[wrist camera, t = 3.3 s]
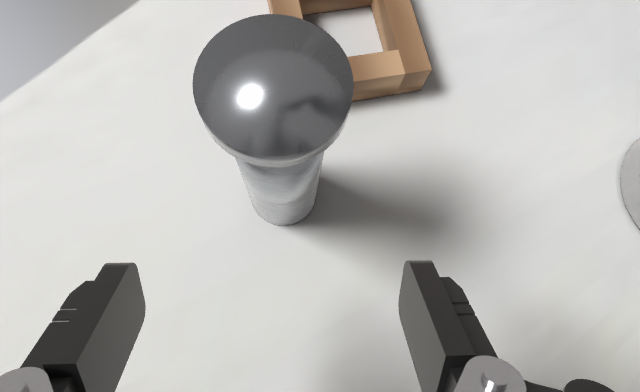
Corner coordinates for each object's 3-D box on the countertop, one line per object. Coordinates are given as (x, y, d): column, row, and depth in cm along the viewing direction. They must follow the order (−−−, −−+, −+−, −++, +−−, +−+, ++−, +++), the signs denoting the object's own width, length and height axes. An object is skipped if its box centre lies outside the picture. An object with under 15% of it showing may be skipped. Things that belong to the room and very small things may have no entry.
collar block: (387, -17, 31) (395, -45, 29) (420, 90, 29) (432, 69, 26) (267, -2, 30) (264, -29, 28) (290, 110, 28) (290, 91, 25)
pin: (315, 148, 27) (334, 4, 15) (333, 226, 26) (370, 140, 13) (235, 162, 27) (183, 24, 14) (248, 242, 25) (204, 169, 13)
